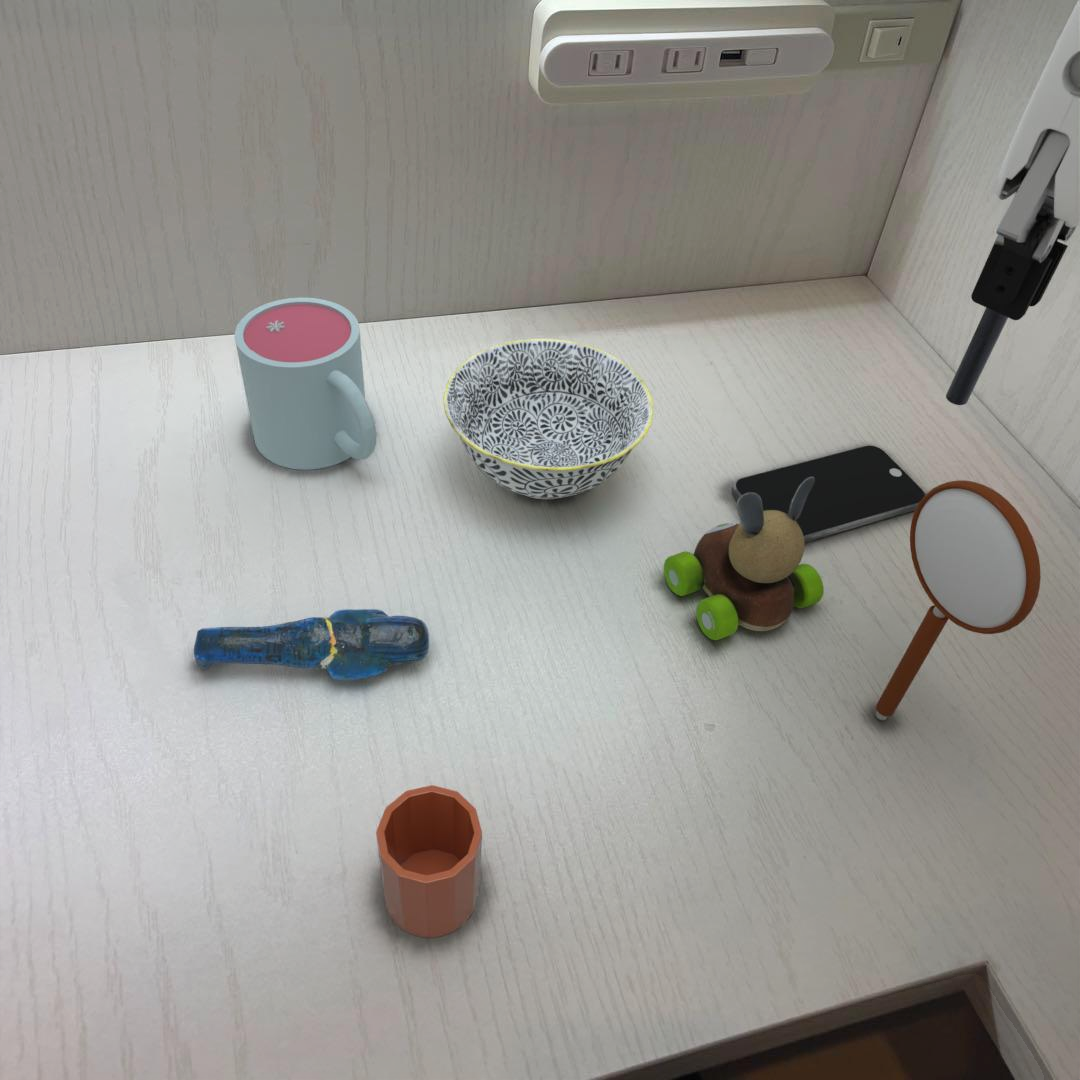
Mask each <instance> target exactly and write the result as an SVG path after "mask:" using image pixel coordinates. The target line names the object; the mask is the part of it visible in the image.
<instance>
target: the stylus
mask: <svg viewBox="0 0 1080 1080" xmlns="http://www.w3.org/2000/svg"><path fill="white" fill-rule="evenodd" d="M1036 219H1037V220H1040V221H1042V222H1044V223H1045V226H1044V229H1045V228H1046V226H1047V223H1048V221H1049V220H1048V219H1046V218H1043V217H1041V216H1038V215H1037V216H1036ZM1008 319H1009V318H1008V317H1006V316H1004V315H1001V314H999V313H997V312H995V311H993V310H991V309H988V308H986V307H985V310H984V311H983V314H982V316H981V318H980V320H979V323H978V325H977V327H976V329H975V331H974V333H973V335H972V338H971V340H970V342H969V344H968V346H967V349H966V350H965V352H964V355H963V357H962V359H961V361H960V363H959V365H958V367H957V370H956V373H955V374H954V377H953V379H952V381H951V383H950V385H949V387H948V390H947V392H946V394H945V398H946V400H947V401H948V402H949V403H950V404H952V405H956V406H965V405H966V404H967V403H968V402H969V399H970V398H971V395H972V393H973V391H974V389H975V387H976V385H977V383H978V381H979V379H980V377H981V374H982V373H983V370H984V368H985V366H986V364H987V362H988V360H989V359H990V356H991V354H992V352H993V350H994V348H995V346H996V344H997V342H998V340H999V337H1000V335H1001V334H1002V331H1003V329H1004V327H1005V324H1006V323H1007V321H1008Z"/></svg>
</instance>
